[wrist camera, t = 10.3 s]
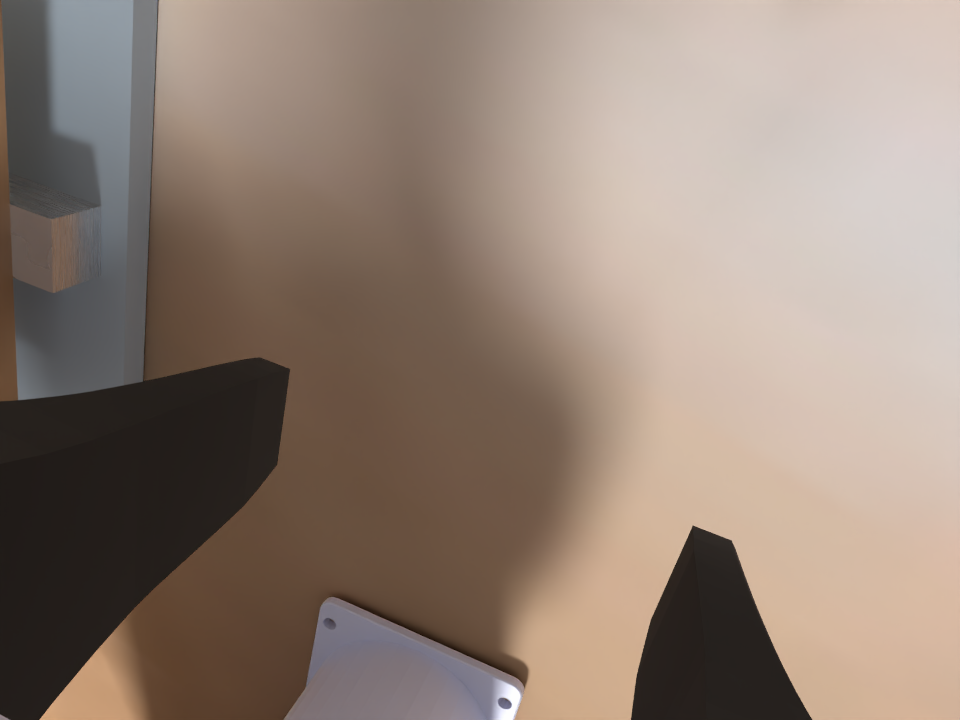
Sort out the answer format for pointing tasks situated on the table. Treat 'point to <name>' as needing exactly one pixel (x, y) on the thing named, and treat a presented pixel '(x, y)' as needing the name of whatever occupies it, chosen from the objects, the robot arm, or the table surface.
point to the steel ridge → (53, 236)
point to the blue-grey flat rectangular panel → (84, 180)
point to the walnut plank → (6, 258)
